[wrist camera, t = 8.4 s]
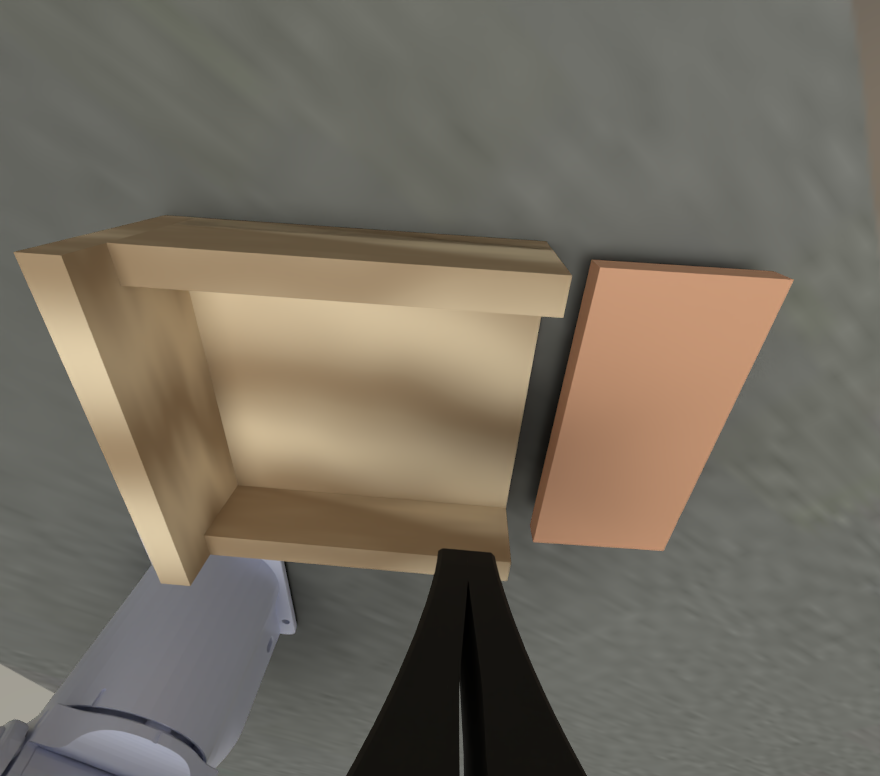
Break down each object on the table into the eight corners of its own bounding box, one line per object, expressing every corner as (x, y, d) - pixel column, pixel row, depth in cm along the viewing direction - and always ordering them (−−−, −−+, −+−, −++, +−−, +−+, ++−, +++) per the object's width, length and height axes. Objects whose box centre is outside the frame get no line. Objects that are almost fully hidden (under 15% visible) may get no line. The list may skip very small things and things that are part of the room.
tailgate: (528, 515, 21) (649, 523, 21) (533, 542, 20) (663, 550, 19) (586, 255, 15) (761, 266, 14) (600, 267, 13) (794, 279, 13)
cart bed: (500, 502, 22) (509, 615, 17) (233, 480, 22) (161, 583, 17) (546, 241, 15) (585, 292, 10) (165, 215, 16) (13, 252, 10)
